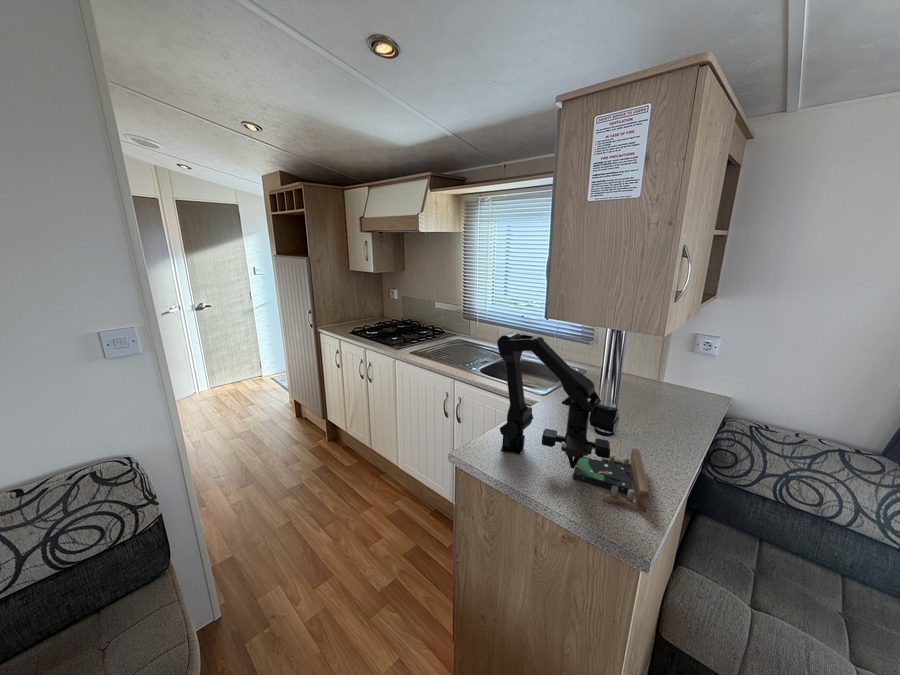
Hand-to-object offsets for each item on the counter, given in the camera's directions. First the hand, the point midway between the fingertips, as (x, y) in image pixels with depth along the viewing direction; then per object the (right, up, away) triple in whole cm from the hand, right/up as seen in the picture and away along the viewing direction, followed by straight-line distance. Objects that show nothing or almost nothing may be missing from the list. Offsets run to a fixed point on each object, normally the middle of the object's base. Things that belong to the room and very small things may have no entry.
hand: (572, 467), depth 106 cm
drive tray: (+13, -3, -4) cm, 14 cm away
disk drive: (+8, -3, -2) cm, 9 cm away
